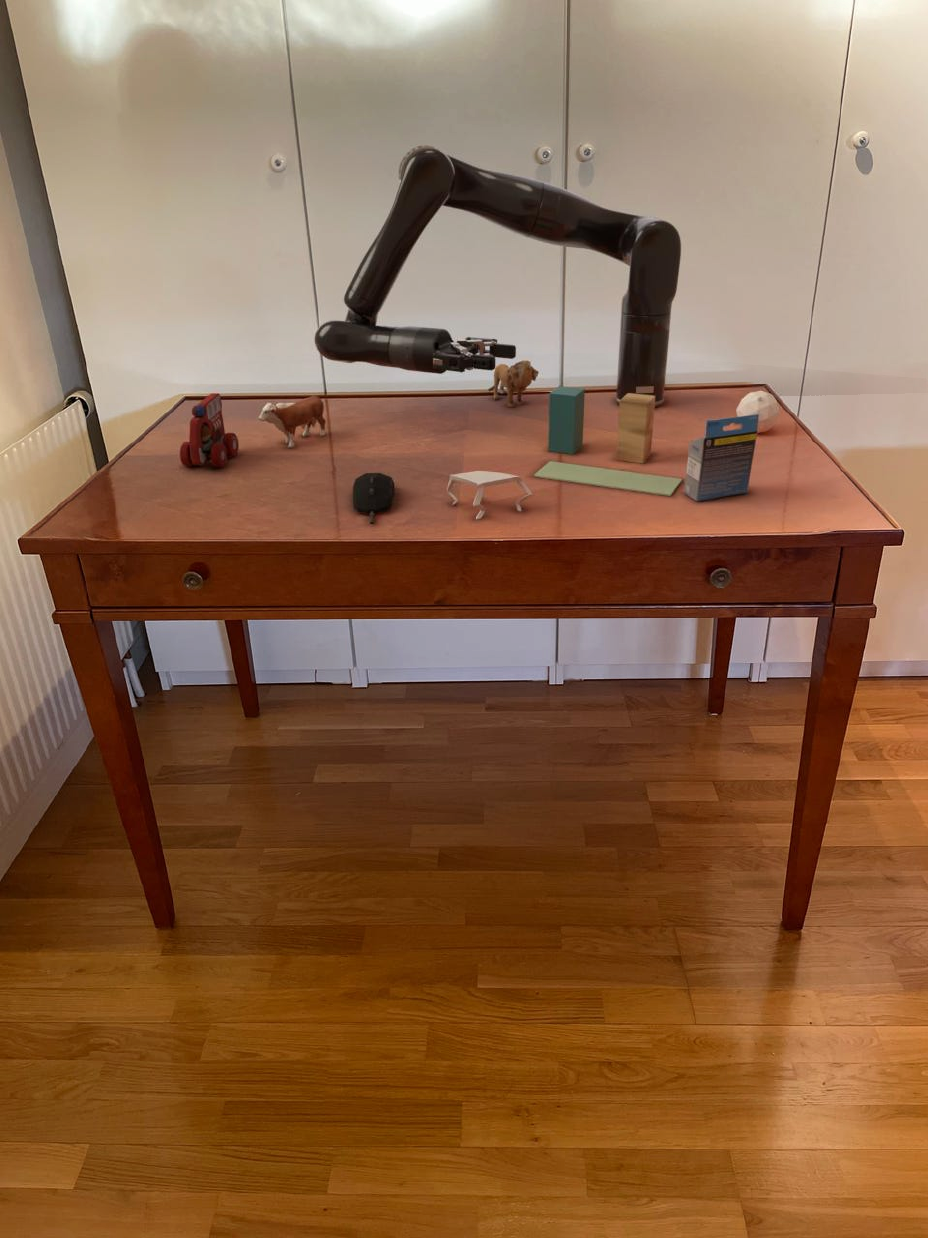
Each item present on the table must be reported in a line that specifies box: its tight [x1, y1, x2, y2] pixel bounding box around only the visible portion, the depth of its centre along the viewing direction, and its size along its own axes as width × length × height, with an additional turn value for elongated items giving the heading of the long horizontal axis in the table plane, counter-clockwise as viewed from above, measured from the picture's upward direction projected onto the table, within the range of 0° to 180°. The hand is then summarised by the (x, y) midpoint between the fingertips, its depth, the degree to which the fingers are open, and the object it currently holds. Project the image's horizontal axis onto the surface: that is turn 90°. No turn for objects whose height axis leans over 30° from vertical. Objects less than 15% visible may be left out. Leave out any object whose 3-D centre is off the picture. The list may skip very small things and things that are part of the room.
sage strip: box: [533, 460, 683, 497], centre depth 139 cm, size 7×22×1 cm, turn 64°
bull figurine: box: [258, 394, 327, 449], centre depth 157 cm, size 4×13×8 cm, turn 137°
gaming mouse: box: [352, 472, 396, 525], centre depth 132 cm, size 6×15×4 cm, turn 3°
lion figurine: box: [487, 359, 540, 408], centre depth 175 cm, size 15×5×9 cm, turn 33°
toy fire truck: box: [179, 392, 240, 468], centre depth 149 cm, size 7×12×10 cm, turn 171°
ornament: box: [735, 390, 781, 434], centre depth 155 cm, size 7×7×8 cm
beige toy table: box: [446, 470, 533, 520], centre depth 129 cm, size 12×8×5 cm
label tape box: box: [683, 414, 759, 502], centre depth 129 cm, size 9×4×12 cm, turn 108°
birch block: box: [615, 393, 656, 464], centre depth 145 cm, size 5×5×10 cm
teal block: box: [547, 385, 586, 455], centre depth 149 cm, size 5×5×10 cm
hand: (505, 357), depth 149 cm, fingers open, 8 cm apart
